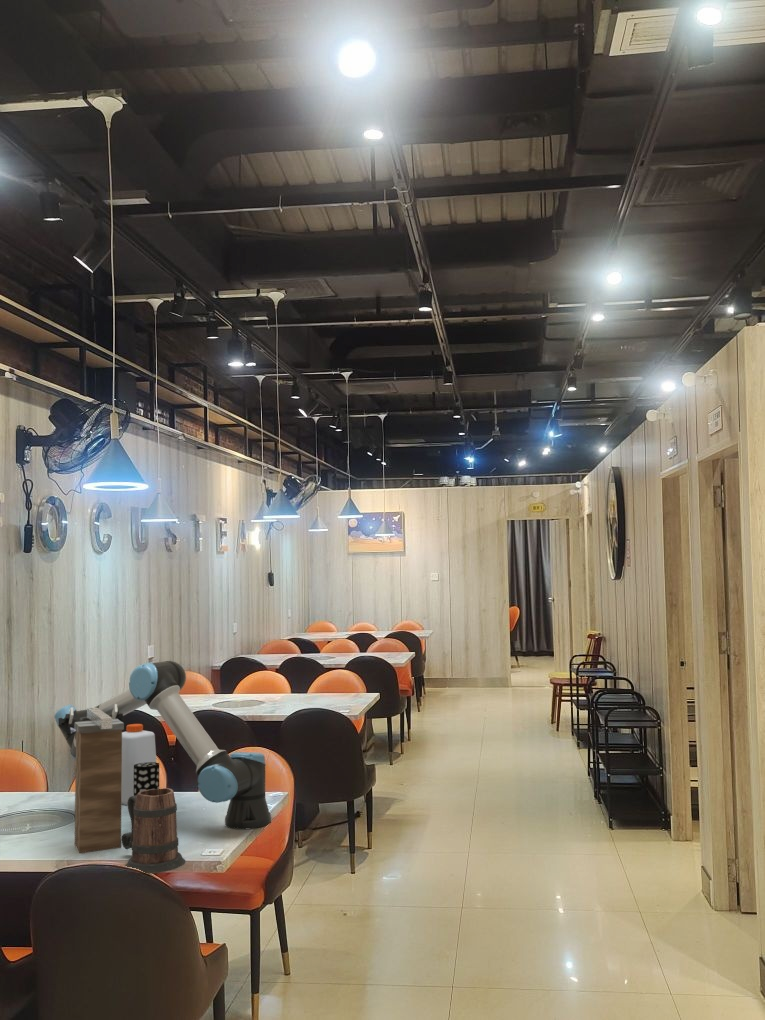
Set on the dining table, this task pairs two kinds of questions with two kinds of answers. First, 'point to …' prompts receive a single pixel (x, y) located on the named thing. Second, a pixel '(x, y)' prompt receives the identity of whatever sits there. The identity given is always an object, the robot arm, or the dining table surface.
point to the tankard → (153, 832)
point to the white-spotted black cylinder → (146, 776)
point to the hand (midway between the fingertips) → (94, 709)
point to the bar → (99, 718)
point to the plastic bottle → (135, 756)
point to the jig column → (98, 786)
